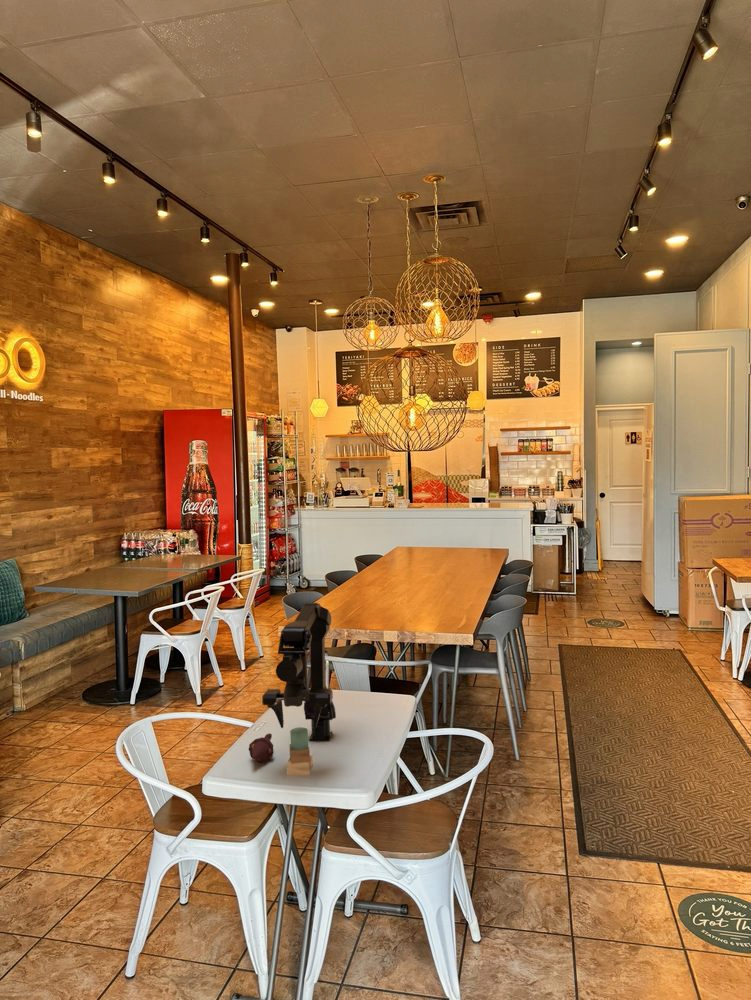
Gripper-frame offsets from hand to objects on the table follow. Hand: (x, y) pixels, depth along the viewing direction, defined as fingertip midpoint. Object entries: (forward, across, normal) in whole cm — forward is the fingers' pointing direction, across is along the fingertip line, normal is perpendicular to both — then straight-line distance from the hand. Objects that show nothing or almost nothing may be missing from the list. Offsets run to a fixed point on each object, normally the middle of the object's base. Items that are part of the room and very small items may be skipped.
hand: (298, 727), depth 193 cm
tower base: (+12, 0, +1) cm, 13 cm away
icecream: (+12, -12, +7) cm, 19 cm away
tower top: (+9, 0, 0) cm, 9 cm away
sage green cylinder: (+6, 0, 0) cm, 6 cm away
